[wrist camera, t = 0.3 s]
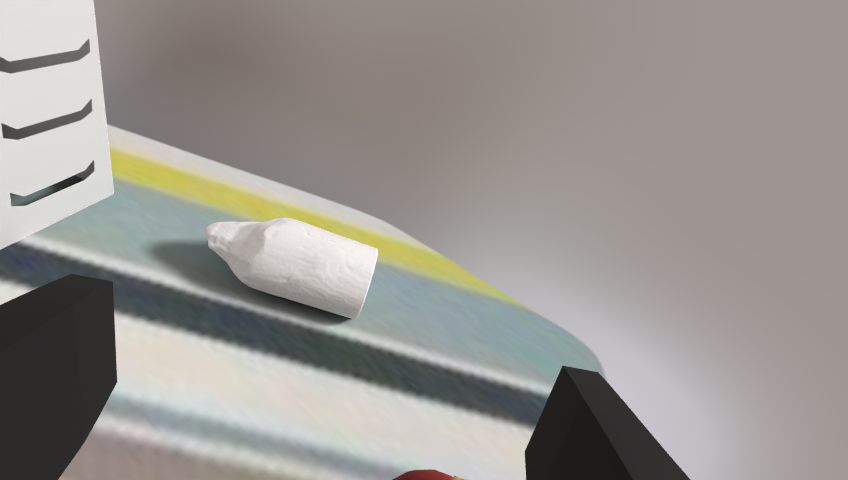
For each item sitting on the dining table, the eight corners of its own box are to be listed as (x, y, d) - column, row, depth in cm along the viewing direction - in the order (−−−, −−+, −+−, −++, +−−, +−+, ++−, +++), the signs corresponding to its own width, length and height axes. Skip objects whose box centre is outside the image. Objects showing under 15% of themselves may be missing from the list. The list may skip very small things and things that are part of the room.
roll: (214, 242, 44) (227, 181, 41) (361, 287, 46) (382, 232, 43) (184, 287, 39) (196, 220, 36) (351, 336, 41) (374, 276, 38)
